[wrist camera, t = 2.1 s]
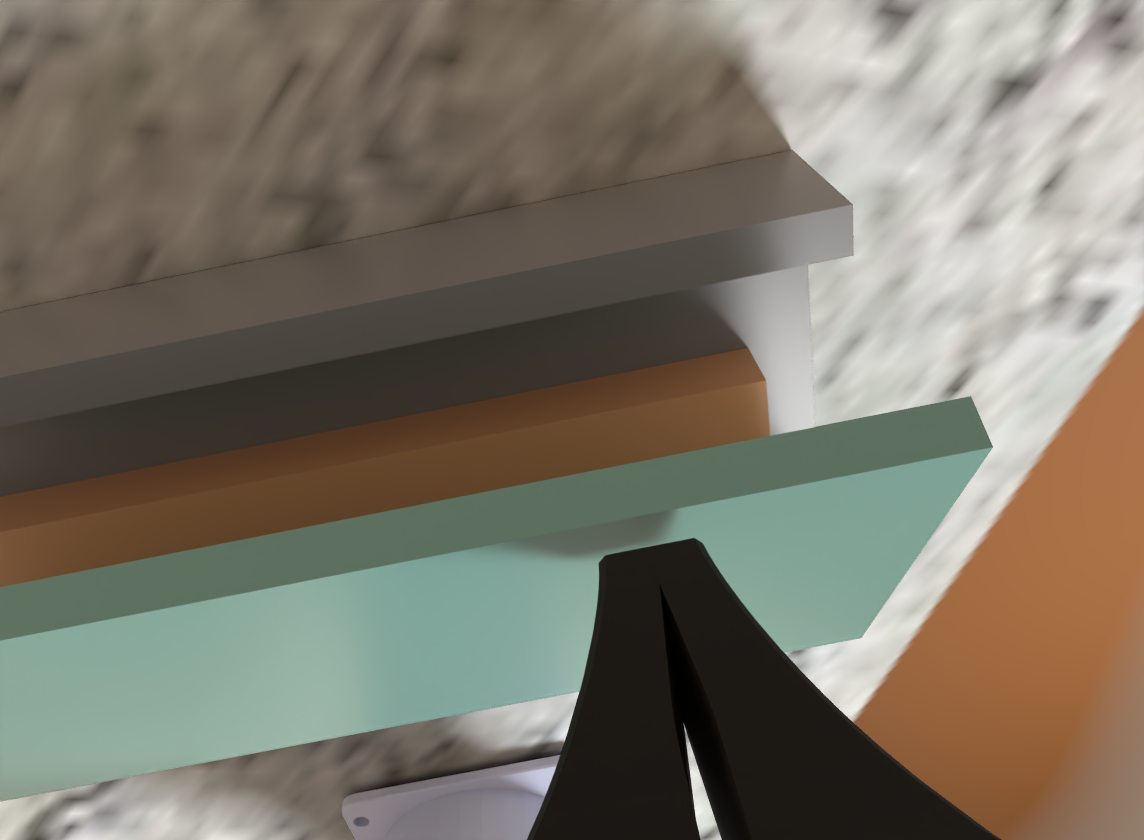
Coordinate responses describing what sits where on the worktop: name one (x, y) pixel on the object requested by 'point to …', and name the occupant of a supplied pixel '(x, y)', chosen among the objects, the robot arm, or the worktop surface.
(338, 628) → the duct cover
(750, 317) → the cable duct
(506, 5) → the worktop surface
